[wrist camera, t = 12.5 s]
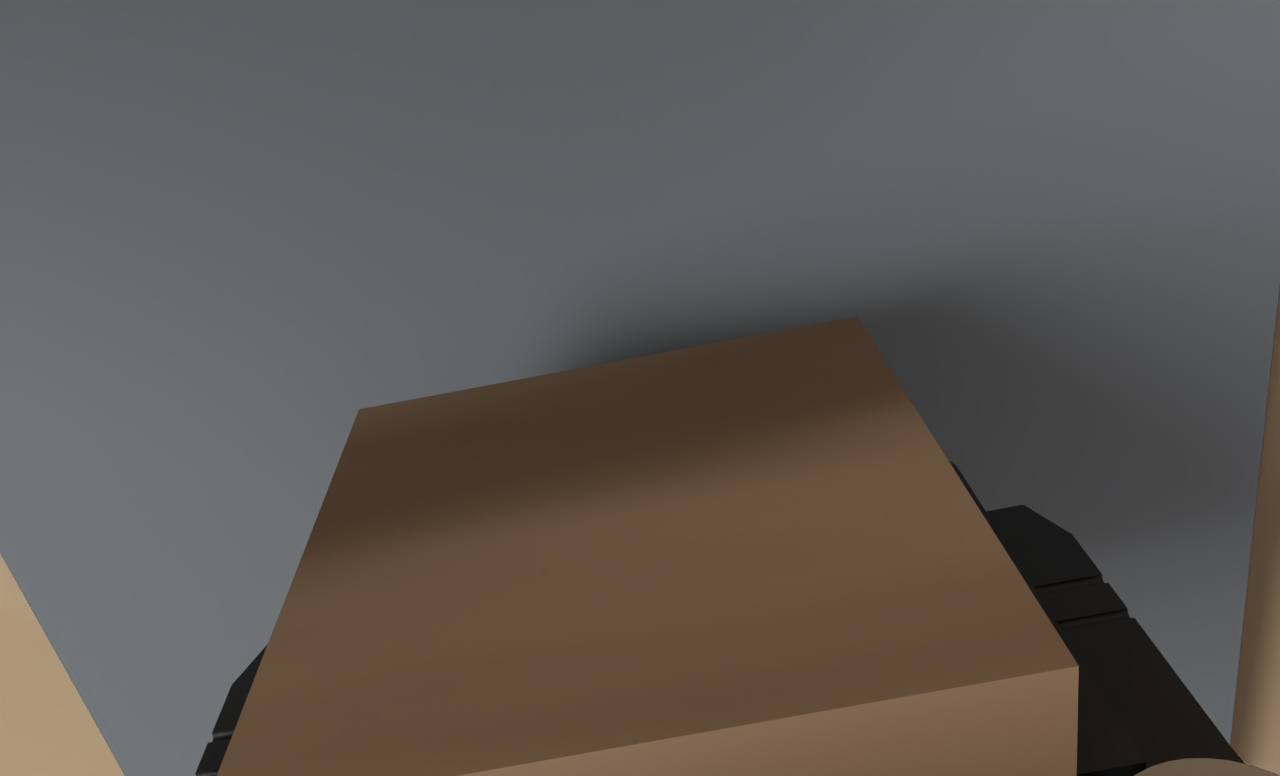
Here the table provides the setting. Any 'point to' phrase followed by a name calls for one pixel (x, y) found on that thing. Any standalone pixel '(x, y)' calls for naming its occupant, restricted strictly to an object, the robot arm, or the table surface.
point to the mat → (612, 272)
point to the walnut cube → (660, 586)
